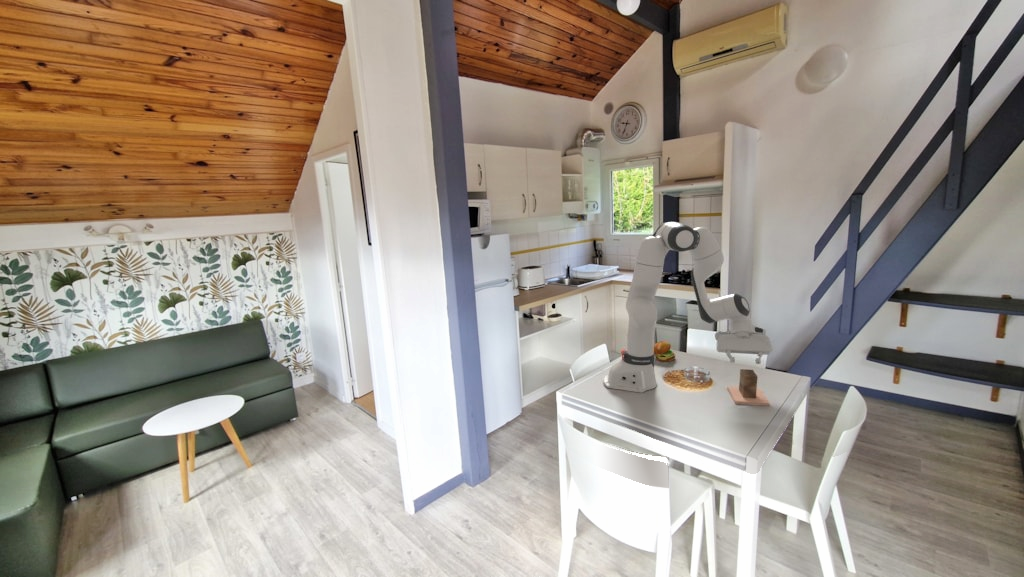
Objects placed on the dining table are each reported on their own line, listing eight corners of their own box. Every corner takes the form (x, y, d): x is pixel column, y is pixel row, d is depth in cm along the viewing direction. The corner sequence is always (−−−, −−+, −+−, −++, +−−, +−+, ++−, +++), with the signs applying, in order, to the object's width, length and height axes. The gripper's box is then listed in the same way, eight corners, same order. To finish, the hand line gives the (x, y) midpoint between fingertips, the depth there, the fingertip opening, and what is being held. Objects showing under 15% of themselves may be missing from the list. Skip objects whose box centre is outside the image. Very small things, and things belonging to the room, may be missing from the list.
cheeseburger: (680, 361, 210) (676, 343, 208) (659, 367, 210) (654, 349, 208) (671, 353, 220) (667, 336, 218) (651, 359, 220) (647, 342, 218)
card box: (743, 397, 170) (744, 376, 168) (738, 389, 176) (740, 369, 174) (755, 398, 168) (757, 376, 166) (751, 390, 175) (752, 369, 173)
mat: (734, 403, 167) (735, 401, 167) (727, 388, 180) (727, 385, 180) (769, 406, 164) (769, 403, 164) (759, 390, 177) (759, 387, 177)
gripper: (715, 327, 182) (718, 357, 175) (770, 329, 177) (775, 360, 170) (713, 334, 188) (716, 364, 180) (766, 336, 182) (771, 367, 175)
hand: (745, 362), depth 175 cm, fingers open, 8 cm apart
